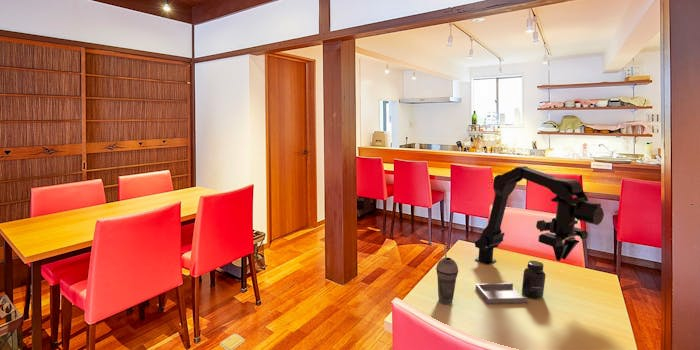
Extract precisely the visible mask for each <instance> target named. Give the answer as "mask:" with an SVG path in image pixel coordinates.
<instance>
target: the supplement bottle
mask: <svg viewBox="0 0 700 350" xmlns="http://www.w3.org/2000/svg"><path fill="white" fill-rule="evenodd" d="M546 277H547V276H546V273H545V271H544V263H542V262H541V261H538V260H529V261H527V267H526V268H525V269H524V270H523V276H522V284H521V293H522V295H523V297H528V299H532V300H541V299H543V297H544V293H545V284H546Z"/></svg>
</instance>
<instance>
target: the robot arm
mask: <svg viewBox="0 0 700 350" xmlns="http://www.w3.org/2000/svg"><path fill="white" fill-rule="evenodd" d="M522 180H526V181H529V182H531V183H534V184H536V185H539V186H541V187H544V188H547V190H549V191H550V192H551V193H553V194H554V195H555V196H554V197H552V199H550V201H551V202H554V203H556V211H555V212H556V213H555V217H554V218H551V220H546V221H545V220H544V219H542V220H541V219H540V220H537V221H536V225H535V228H536V229H537V230H538V231H539V232H540V233H541V232H545V231H546V232H545V233H541V234H540V235H538V239H537V240H538V241H537V242H538V243H541V244H544V245H547V246H550V247H552V249H553V253H554V256H555V259H556V261H558V262H560V261H561V260H566V259H567V258H568V256H569V255H570V253H571V252H572V251H573V249H574V248H575V247H576V246H577V245H578V244H579V243H580V240H577V239H576V237H580V239H581V240H587V239H588V237H589V236H588V235H589V233H588V231H587V230H586V229H582V228H579V227H576V226H575V225H578V223H579V221H580V222H583V223H587V224H592V225H595V226H598V225H600V224H601V223H602V221H603V219H604V216H605V213H604V209H603V208H602V207H601V206H602V203H600V202H599V203H598V202H591V201H589V198H588V197H587V195H586V193H585V192H584V190H583V186H582V185H581V182H580V181H579V180H577V179H572V178H564V177H556V176H552V175H549V174H546V173H544V172H541V171H539V170H535V169H533V168H530V167H528V166H527V165H526V166H525V165H524V166H523V165H522V166H515V168H513V169H511V170H509V171H507V172H504V173H503V174H498V175H497V174H496V176H495V177H494V178H493V185H492V188H493V191H494V198H493V202H492V205H491V206H492V207H491V210H490V214H489V220H488V223H487V225H486V227H485V228H483V230H482V232H481V235H480V238H478V239H476V241H474V246H475V248H477V249H478V256H477V257H476V258H475V259H474V260H475V261H477V262H479V263H482V264H485V265H491V264H493V263H495V262H497V259H495V258H494V249H496V248H498V247H499V245H500V244H501V243H502V242H504V236H505V232H504V231H502V229H501V227H502V223H503V218H504V214H505V210H506V207H507V203H508V200H509V196H510V195H511V194H512V193H513V191H514V190H515V188H516V186H517V183H519V182H521V181H522ZM548 231H549V232H548Z"/></svg>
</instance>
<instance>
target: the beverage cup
mask: <svg viewBox="0 0 700 350" xmlns="http://www.w3.org/2000/svg"><path fill="white" fill-rule="evenodd" d="M443 248H444V257H443V258H441V259H440V260H439V261H438V262H437V265H436V267H435V270H436V276H437V296H438V302H439V303H440V304H441V305H446V306H448V305H452V304H453V300H454V295H455V290H456V289H455V288H456V281H457V277H458V274H459V267H458V264H457V262H456V261H455V260H454V259H453V258H451V257H447V247H446V244H444V245H443Z"/></svg>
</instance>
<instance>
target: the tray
mask: <svg viewBox="0 0 700 350" xmlns="http://www.w3.org/2000/svg"><path fill="white" fill-rule="evenodd" d="M475 290H476V291H477V293H479V296H481V297H482V298H483V300H484V301H485V302H486V303H487V304H488V305H509V304H511V305H512V304H528V301H529V298H528V297H526V296H522V295H521V294H520V293H519V292H518V291H517V290H516V289H515V288H514V283H513V282H501V283H500V282H499V283H495V282H494V283H476V284H475Z"/></svg>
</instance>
